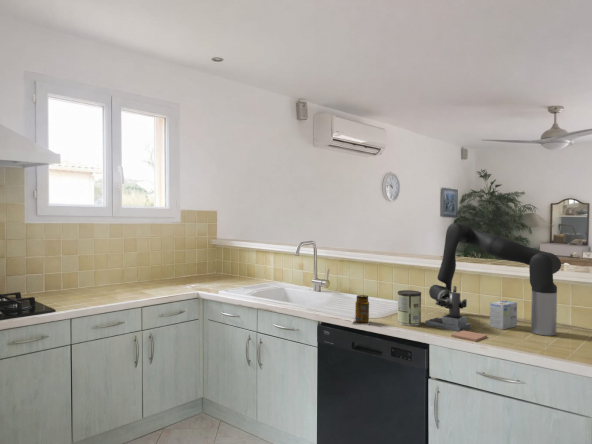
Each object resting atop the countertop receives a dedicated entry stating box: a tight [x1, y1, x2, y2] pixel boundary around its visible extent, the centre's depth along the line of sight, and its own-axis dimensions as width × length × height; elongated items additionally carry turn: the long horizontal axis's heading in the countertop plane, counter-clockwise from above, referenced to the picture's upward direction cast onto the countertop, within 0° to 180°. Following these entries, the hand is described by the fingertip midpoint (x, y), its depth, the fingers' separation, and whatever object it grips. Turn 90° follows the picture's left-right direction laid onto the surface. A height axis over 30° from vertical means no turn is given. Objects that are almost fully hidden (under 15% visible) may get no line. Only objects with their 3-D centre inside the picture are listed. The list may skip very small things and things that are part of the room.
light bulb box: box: [489, 299, 518, 330], centre depth 200 cm, size 11×7×11 cm, turn 123°
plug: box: [448, 285, 461, 319], centre depth 196 cm, size 4×4×16 cm
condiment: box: [352, 294, 371, 326], centre depth 205 cm, size 7×8×12 cm
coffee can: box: [397, 289, 422, 327], centre depth 205 cm, size 10×10×14 cm
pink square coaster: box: [450, 330, 488, 342], centre depth 182 cm, size 10×10×1 cm
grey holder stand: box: [424, 314, 472, 333], centre depth 199 cm, size 10×16×5 cm, turn 43°
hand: (456, 306), depth 194 cm, fingers closed on plug, 4 cm apart
